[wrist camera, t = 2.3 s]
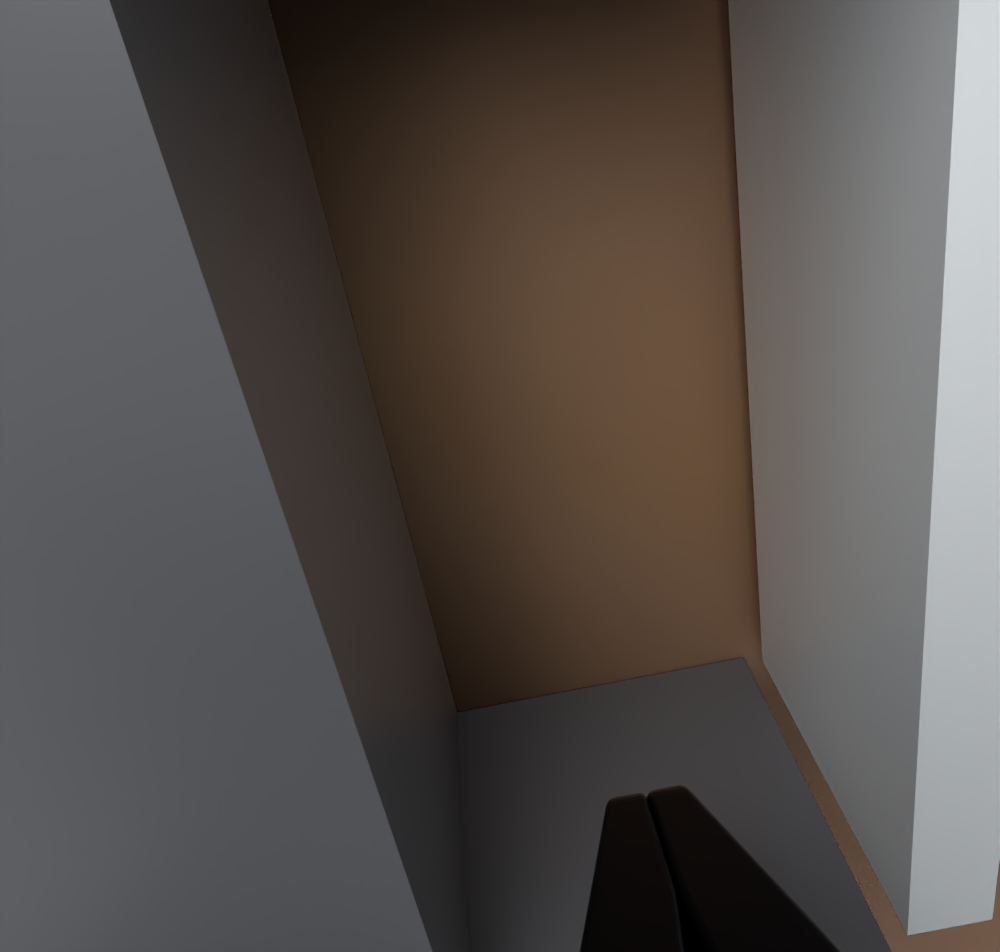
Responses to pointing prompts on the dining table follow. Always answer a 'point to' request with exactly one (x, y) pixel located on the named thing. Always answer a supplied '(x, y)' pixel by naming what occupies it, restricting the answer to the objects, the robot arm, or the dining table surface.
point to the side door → (880, 417)
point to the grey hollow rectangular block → (267, 565)
